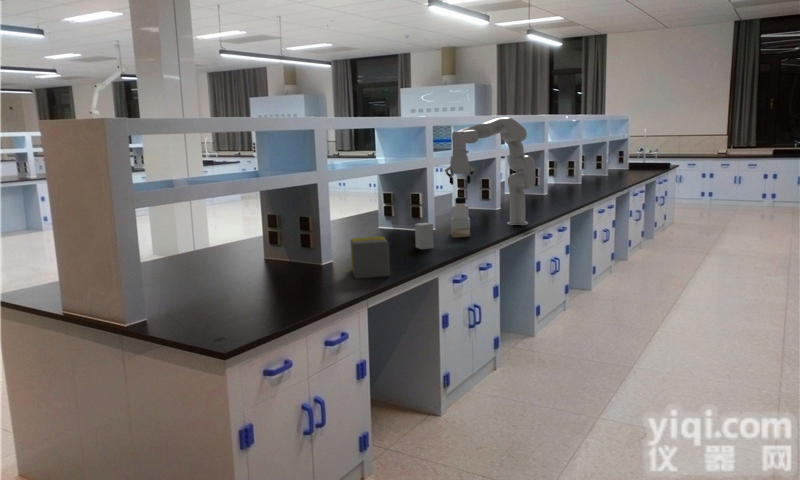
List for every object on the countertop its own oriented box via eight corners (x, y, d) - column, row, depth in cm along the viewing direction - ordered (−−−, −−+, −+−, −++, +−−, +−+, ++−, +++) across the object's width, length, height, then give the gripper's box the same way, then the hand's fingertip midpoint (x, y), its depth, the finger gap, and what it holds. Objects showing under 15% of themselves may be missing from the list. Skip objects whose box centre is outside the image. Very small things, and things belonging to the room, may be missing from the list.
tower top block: (451, 225, 354) (450, 217, 353) (468, 225, 354) (468, 216, 353) (452, 228, 344) (452, 219, 343) (470, 228, 344) (470, 219, 343)
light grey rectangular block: (468, 217, 349) (468, 196, 347) (463, 219, 343) (463, 198, 341) (457, 217, 353) (456, 196, 351) (452, 218, 347) (451, 197, 345)
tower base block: (451, 234, 355) (451, 225, 354) (468, 233, 354) (468, 225, 354) (452, 237, 345) (452, 228, 344) (470, 236, 345) (469, 228, 344)
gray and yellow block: (383, 264, 282) (381, 232, 279) (390, 276, 258) (388, 241, 256) (350, 267, 280) (348, 234, 277) (355, 279, 256) (353, 244, 253)
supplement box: (434, 248, 316) (433, 224, 313) (421, 249, 313) (420, 225, 311) (428, 245, 322) (427, 222, 320) (415, 247, 320) (414, 223, 317)
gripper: (472, 152, 346) (473, 182, 350) (442, 153, 343) (443, 184, 347) (476, 152, 339) (476, 183, 342) (446, 154, 336) (447, 185, 339)
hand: (460, 183), depth 344 cm, fingers open, 9 cm apart
